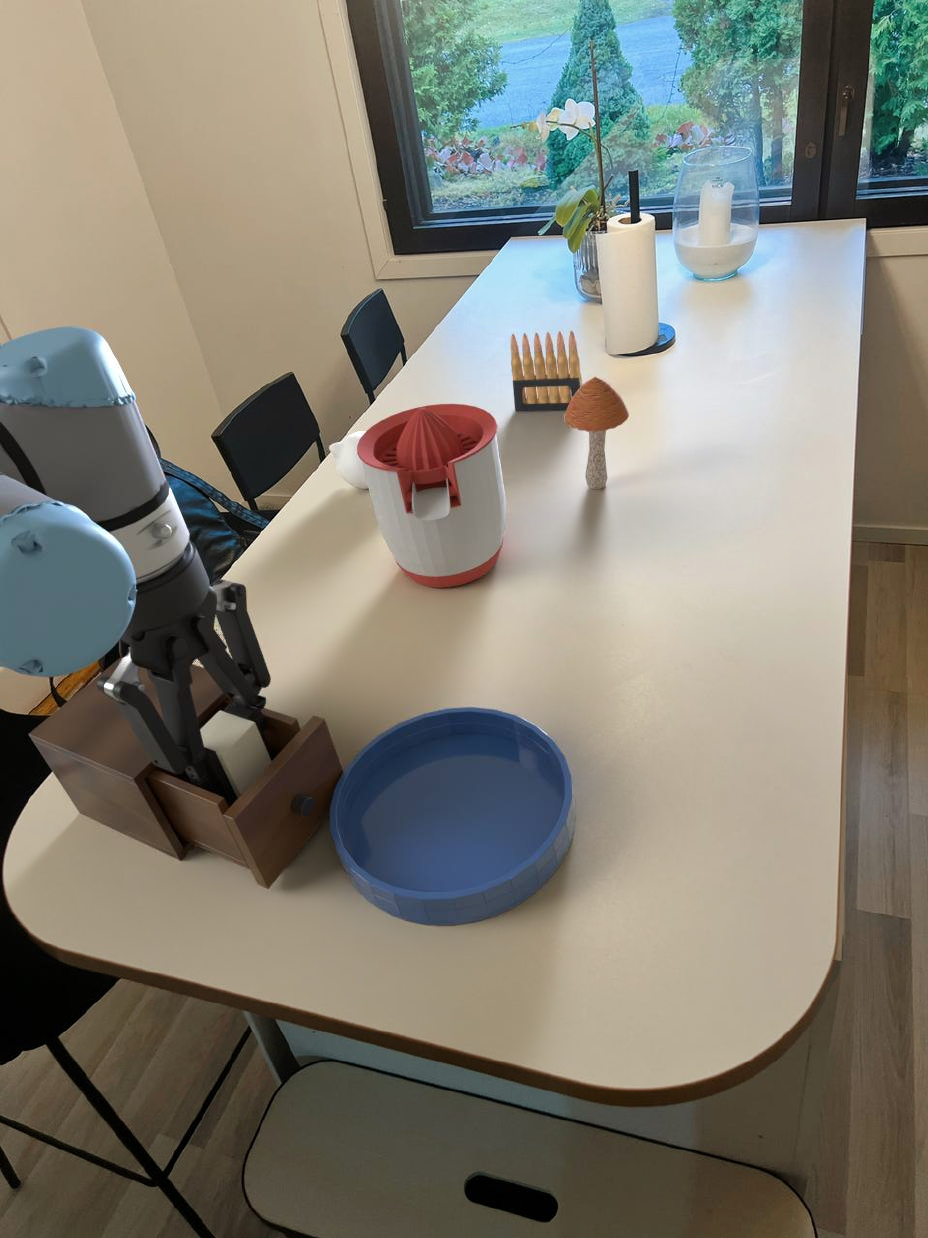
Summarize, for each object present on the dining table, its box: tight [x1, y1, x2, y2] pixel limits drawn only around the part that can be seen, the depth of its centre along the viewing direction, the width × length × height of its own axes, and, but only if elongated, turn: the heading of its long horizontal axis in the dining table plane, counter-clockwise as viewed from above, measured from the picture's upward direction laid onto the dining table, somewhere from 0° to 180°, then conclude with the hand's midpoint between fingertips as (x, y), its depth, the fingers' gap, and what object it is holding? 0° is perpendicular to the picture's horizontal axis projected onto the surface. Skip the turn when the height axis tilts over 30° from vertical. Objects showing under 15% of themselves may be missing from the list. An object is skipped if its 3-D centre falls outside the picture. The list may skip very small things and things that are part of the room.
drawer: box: [144, 698, 344, 890], centre depth 74 cm, size 14×11×9 cm
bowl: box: [329, 706, 576, 927], centre depth 73 cm, size 20×20×4 cm
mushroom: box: [563, 376, 630, 491], centre depth 110 cm, size 8×8×15 cm
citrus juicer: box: [357, 403, 507, 588], centre depth 99 cm, size 16×17×20 cm
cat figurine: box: [328, 430, 369, 490], centre depth 121 cm, size 9×11×12 cm
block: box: [200, 710, 272, 798], centre depth 73 cm, size 4×4×8 cm
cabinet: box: [28, 657, 227, 861], centre depth 79 cm, size 14×13×11 cm
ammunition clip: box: [510, 330, 583, 413], centre depth 131 cm, size 11×2×12 cm, turn 74°
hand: (244, 782), depth 74 cm, fingers closed on block, 4 cm apart
